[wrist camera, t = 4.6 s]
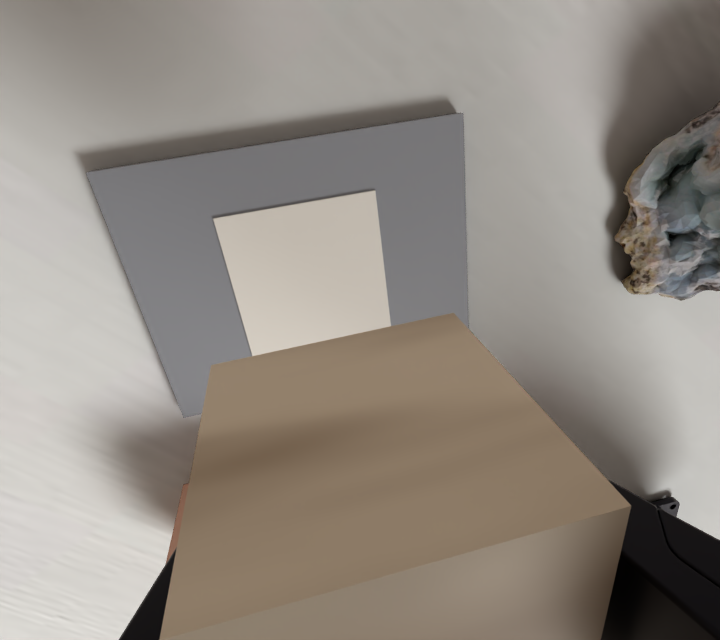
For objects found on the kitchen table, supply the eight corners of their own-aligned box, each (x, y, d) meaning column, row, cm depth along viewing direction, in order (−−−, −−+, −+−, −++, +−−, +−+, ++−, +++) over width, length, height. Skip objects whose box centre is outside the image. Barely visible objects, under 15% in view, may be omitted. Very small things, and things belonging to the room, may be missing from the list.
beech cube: (459, 481, 11) (583, 717, 7) (268, 532, 11) (274, 823, 6) (453, 312, 9) (631, 506, 5) (211, 365, 9) (160, 640, 4)
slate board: (464, 348, 22) (470, 355, 22) (185, 410, 21) (183, 419, 20) (457, 112, 18) (464, 113, 17) (91, 170, 16) (84, 173, 15)
